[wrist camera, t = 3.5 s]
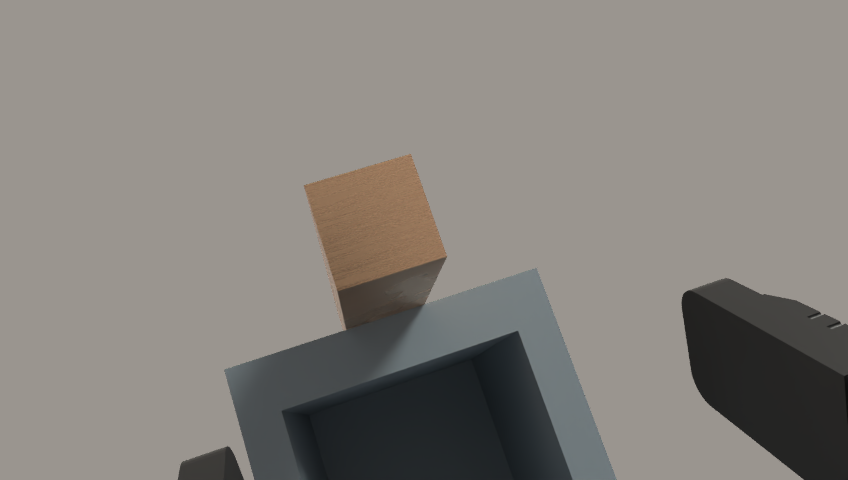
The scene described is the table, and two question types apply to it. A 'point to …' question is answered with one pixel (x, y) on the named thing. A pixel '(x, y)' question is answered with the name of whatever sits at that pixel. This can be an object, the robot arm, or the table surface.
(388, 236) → the wooden plank with hole
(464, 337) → the tall grey-blue box
